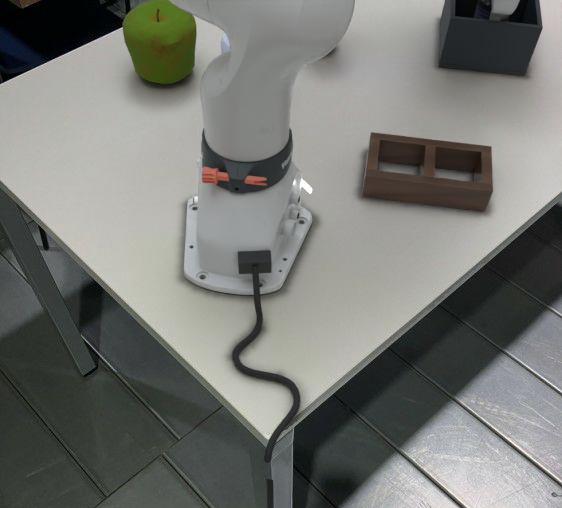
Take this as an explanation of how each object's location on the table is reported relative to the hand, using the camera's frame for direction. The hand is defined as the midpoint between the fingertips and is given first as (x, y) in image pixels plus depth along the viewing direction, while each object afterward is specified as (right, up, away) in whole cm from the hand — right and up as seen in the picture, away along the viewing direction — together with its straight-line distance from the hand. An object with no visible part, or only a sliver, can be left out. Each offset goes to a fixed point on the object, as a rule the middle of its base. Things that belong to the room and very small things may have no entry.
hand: (492, 12), depth 111 cm
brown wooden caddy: (-15, -35, -14) cm, 41 cm away
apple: (-58, -11, -1) cm, 60 cm away
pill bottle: (0, -3, +5) cm, 6 cm away
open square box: (0, -3, +6) cm, 7 cm away
